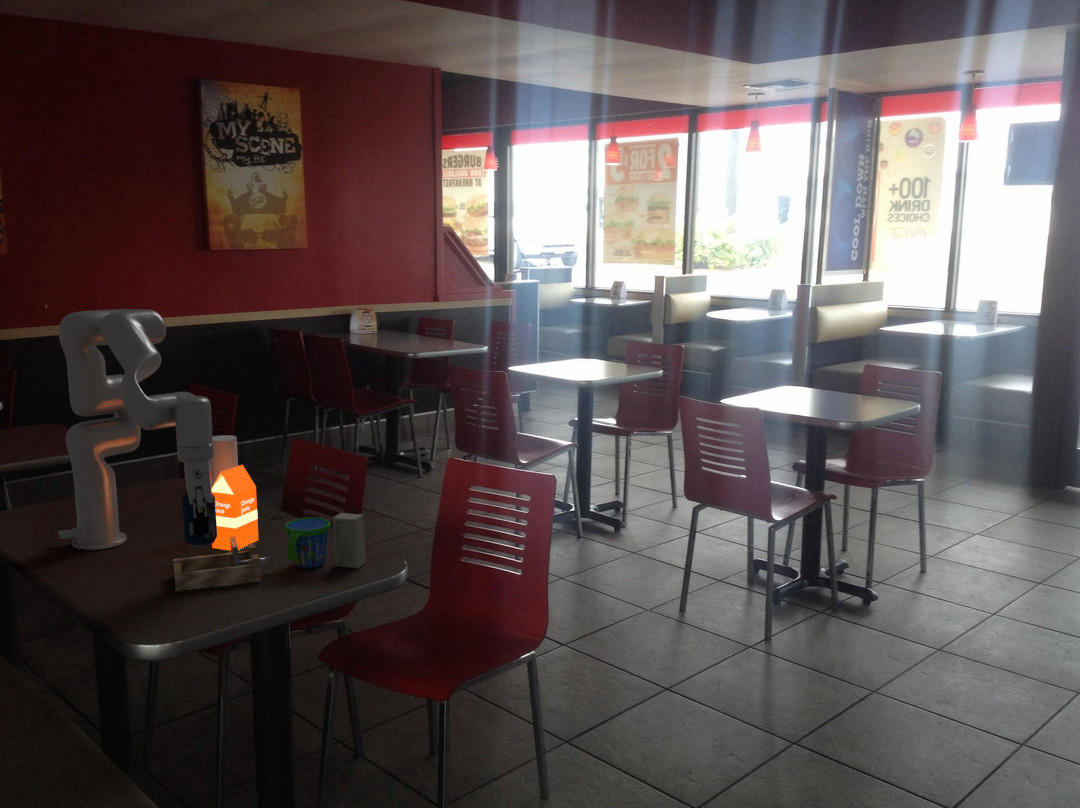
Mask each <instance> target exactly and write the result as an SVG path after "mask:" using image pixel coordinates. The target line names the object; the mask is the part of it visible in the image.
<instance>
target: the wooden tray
mask: <svg viewBox="0 0 1080 808" xmlns="http://www.w3.org/2000/svg"><path fill="white" fill-rule="evenodd" d="M260 558H261V557H260V556H259V553H257V547H256V543H254V544H248V546H247V550H243V551H242V550H239V551H238V560H239V561H241V560H249V559H252V564H248V565H240V566H232V561H231V552H224V553H217V554H209V555H200V556H199V555H198V556H190V557H181V558H173V559H172V561H173V570H174V571H173V573H174V575H175V576H174V586H175V588H176V589H175V592H176V591H180V590H190V591H192V590H191V589H198V590H201V589H200V588H205V589H211V588H210V587H213V588H218V587H219V586H221V587H229V586H234V585H243V583H244V584H250V583H251V582H252V583H259V582H261V581H262V577H261V575H262V574H261V563H260ZM219 588H220V587H219Z"/></svg>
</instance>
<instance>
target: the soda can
mask: <svg viewBox="0 0 1080 808" xmlns="http://www.w3.org/2000/svg"><path fill="white" fill-rule="evenodd" d="M195 493H196V488H195ZM212 500H213V502H212V503H211V504H210V502H209V503H207V501H206V509H207V516H208V523H209V533H208V534H202V535H194V532H193V517H194V513H193V506H192V505H190V503H189V499H188V494H187V490H184V495H183V497H182V499H181V502H182V503H181V504H182V519H183V520H182V521H183V535H184V536H183V539H184V541H185V542H186V544H187V545H188V546H190V547H194V548H195V547H196V548H197V547H206V546H210V545H212V543H214V541H215V539H216V538H217V524H216V508H215V497H214V495H213V493H212ZM192 502H193V500H192ZM194 502H195V503H197V500H195V499H194ZM203 503H204V500H203ZM203 507H204V506H203ZM196 508H197V507H196Z"/></svg>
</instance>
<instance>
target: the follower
mask: <svg viewBox="0 0 1080 808" xmlns="http://www.w3.org/2000/svg"><path fill="white" fill-rule="evenodd" d="M230 543H231V551H230V553H231V561H232V566H240V565H248V564H252V559H249V560H241V561H239V560H238V552H239V551H238V546H237V543H236V539H235V536H232V537H230ZM259 558H260V564H266V563H274V556H269V557H267V556H266V557H259Z"/></svg>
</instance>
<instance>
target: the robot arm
mask: <svg viewBox="0 0 1080 808" xmlns="http://www.w3.org/2000/svg"><path fill="white" fill-rule="evenodd" d="M58 326H59V327H58V337H59V342H60V346H61V348H62V350H63V354H64V356H65V361H66V365H67V366H66V368H67V380H68V381H67V383H68V394H69V403H70V407H71V408H70V409H71V410H72V412H73V413H74V414H75V415H76V416H80V417H94V416H100V415H101V416H102V415H108V414H113V417H108V418H107V417H106V418H100V419H93V420H86V421H82V422H79V423H76V424H74V425H72V426H71V427H70V428H69V429H68V430H67V432H66V434H65V444H66V448H67V451H68V455H69V459H70V463H71V468H72V469H71V471H72V479H73V486H74V499H75V511H76V513H75V514H76V522H77V525H76V527H75V528H72V529H69V530H65V529H64V530H58V531H57V532H58V539H63V541H66V540H72V539H73V540H72V542H71V545H73V546H72V548H74V547H75V548H74V549H76V548H78V549H77V550H80V549H86V550H85V551H97V550H98V549H99V550H105V549H110V548H114V547H117V546H120V545H122V544H124V543H126V542H127V540H128V539H127V534H126V533H124V532H121V531H120V521H119V519H120V517H119V509H118V508H119V506H118V495H117V482H116V475H115V471H114V469H113V468H112V466H110V464H109V463H107V461H106V460H105V458H108V457H110V456H111V457H112V456H117V455H122V454H127V453H130V452H131V453H132V452H133V451H135V450H136V449H138V447H139V446H140V444H141V443H140V442H141V434H142V433H141V429H143V430H146V431H153V430H159V429H165V428H170V427H175V434H176V435H175V437H176V449H177V461H179V462H181V463H183V465H184V466H183V467H184V479H185V486H186V487H185V488H186V491H187V494H188V499H189V503H190V505H192V506H193V513H194V517H193V532H194V535H202V534H208V533H209V523H208V516H207V509H206V501H207V503H209V502H210V504H211V503H212V502H213V500H212V486H211V472H210V463H209V460H210V459H213V458H214V451H213V437H214V436H213V424H212V423H213V422H212V421H213V419H212V406H211V405H212V404H211V401H210V399H209V398H208V397H206V396H204V395H203V396H202V395H195V394H193V393H191V392H188V391H177V392H176V391H175V392H170V393H169V392H167V393H162V394H154V395H146V394H145V392H144V391H143V390H142V388H141V386H140V385H139V383H140V382H142V381H144V380H145V379H147V378H148V377H150V376H151V375H153V374H154V373H155V372H156V371H157V370H158V369H159V368H160V366H161V364H162V355H161V354H160V352H159V350H158V349H157V348H156V346H155V345H156V344H159V343H161V342H163V341H164V339H165V337H166V336H167V326H166V323H165V321H164V318H163V317H162V316H161V315H160V314H159V313H158V312H157V311H155V310H153V309H149V308H148V309H147V308H146V309H142V308H141V309H139V308H137V309H136V308H124V309H123V308H119V309H115V308H114V309H100V310H99V309H95V310H94V309H93V310H83V311H74V312H72V313H69V314H66V315H65V316H64V317H63V318H62V319H61V321H60V323H59V325H58ZM97 346H108V347H109V349H110V350H111V352H112V353H113V355H114V357H115V358H116V360H117V361H118V363H119V364H120V366H121V367H122V368H123V369H122V370H124V374H113V375H107V372H106V371H107V370H106V369H107V368H106V359H105V356H104V355H103V354H102V351H100V349H99V348H97ZM195 488H196V493H195ZM194 499H195V500H197V503H195V502H194ZM192 500H193V502H192ZM203 500H204V503H203ZM203 506H204V507H203ZM196 507H197V508H196ZM91 549H92V550H91ZM99 550H98V551H99Z"/></svg>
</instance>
